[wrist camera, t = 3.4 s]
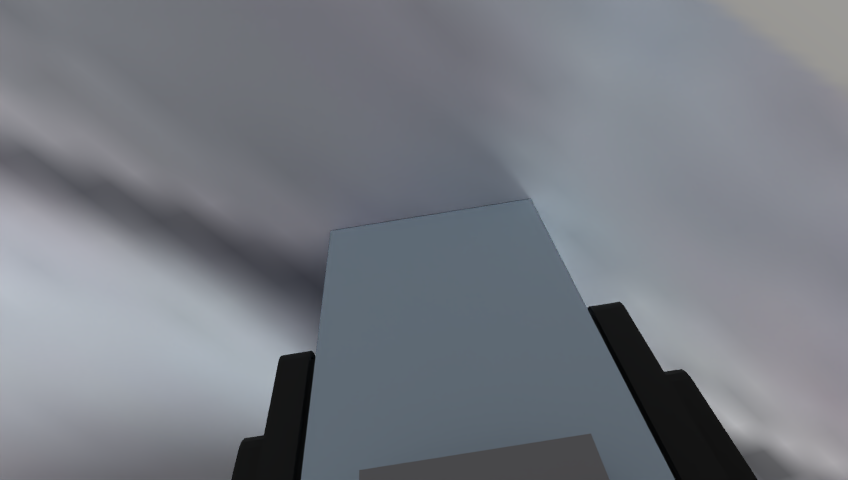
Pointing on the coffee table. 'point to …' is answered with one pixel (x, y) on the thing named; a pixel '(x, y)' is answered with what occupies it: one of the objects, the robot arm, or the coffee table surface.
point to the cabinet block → (465, 359)
